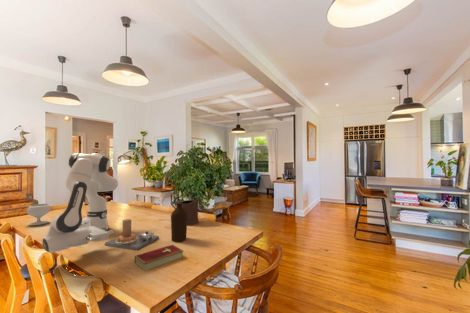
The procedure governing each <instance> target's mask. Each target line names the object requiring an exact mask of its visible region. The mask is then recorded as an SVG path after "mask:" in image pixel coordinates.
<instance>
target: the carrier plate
mask: <svg viewBox="0 0 470 313" xmlns="http://www.w3.org/2000/svg"><path fill="white" fill-rule="evenodd" d="M131 233H132V234H136V240H132V241H131V242H123V243H121V242H120V241H119V242H117V237H116V238H112V239H111V240H108V241H105V242H104V246H107V247H113V248H120V249H121V248H122V249H127V250H134V251H138V250H140V249H142V248H144V247H146V246H147V245H149V244H151V243H153V242H155V241H157V240H159V239H160V236H159V235H155V233H154V232H153V231H144V232H139V233H137V232H131Z"/></svg>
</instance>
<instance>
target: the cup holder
mask: <svg viewBox="0 0 470 313" xmlns="http://www.w3.org/2000/svg"><path fill="white" fill-rule="evenodd" d="M173 194H174V195H177V201H180V195H179V193H178V192H172V193H171V194H170V206H171V207H172V208H174V210H175V209H176V206H174V204H173ZM181 201H182V200H181ZM182 208H183V209H184V210H185V211H186V212H187V227H189V226H195V225H199V223H200V220H199V197H197V198H195V199H192V200H190V199H189V200H188V199H187V200H183V201H182Z"/></svg>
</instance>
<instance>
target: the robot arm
mask: <svg viewBox="0 0 470 313" xmlns="http://www.w3.org/2000/svg"><path fill="white" fill-rule="evenodd" d="M68 166H69V168H70V170H69V172H68V175H67V178H66V181H65V187H66V189H68V190H69V191H70V195H69V198H68V202H67V206H66V209H65V210H64V211H63V212H62V213H60V214H58V215H56V216H54V217H53V218H52V219H51V221H50V223H49V227H48V231H47V233H46V235H44V237H43V239H42V247H43V249H44V251H46V252H48V253H58V252H61V251H66V250H69V249H70V248H76V247H81V246H84V245H87V244H89V242H93V243H95V242H100V241H106V240H108V239H109V237H110V235H112V234H114V233H115V229H110V230H108V229H109V226H110V225H109V221H108V216H107V215H108V209H107V198H106V197H104V196H101V195H99V194H98V193H103V192H106V193H107V192H111V191H115V190H116V189H117V188H118V186H119V181H118V180H117V178H116V177H114V176H111V175H110V174H108V170H109V169H110V166H111V161H110V159H109V157H108V156H104V155H102V154H101V153H99V152H98V153H97V152H94V153H93V152H92V153H81V152H75V153H72V154H71V155H70V157H69V159H68ZM85 198H87V200H88V211H87V212H86V213H85V214H86V217H84V218H83V216H82V215H83V214H82V210H83V209H82V208H83V206H84V202H85ZM107 230H108V231H107Z"/></svg>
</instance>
